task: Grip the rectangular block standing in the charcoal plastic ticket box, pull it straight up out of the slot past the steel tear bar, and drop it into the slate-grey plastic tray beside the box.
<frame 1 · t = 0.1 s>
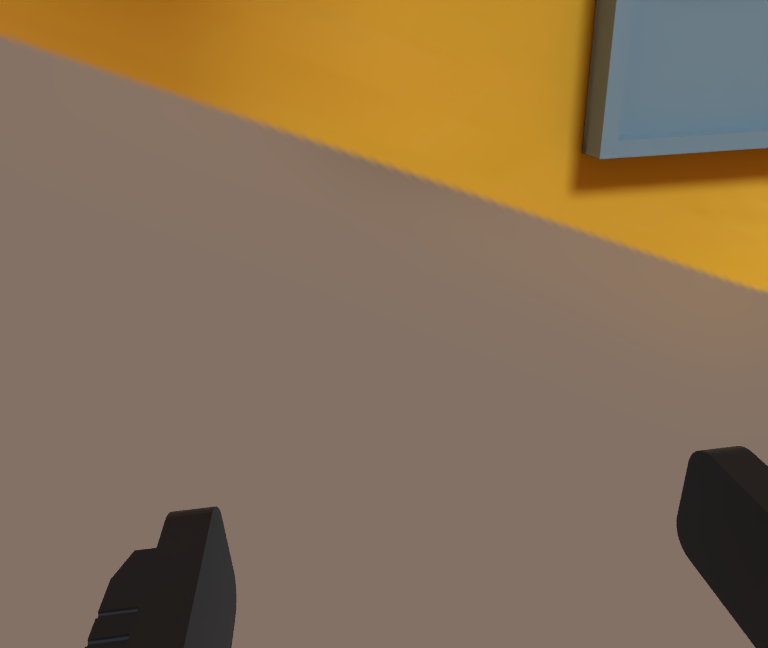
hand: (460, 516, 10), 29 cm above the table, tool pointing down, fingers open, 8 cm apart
tray: (721, 32, 35), on the table
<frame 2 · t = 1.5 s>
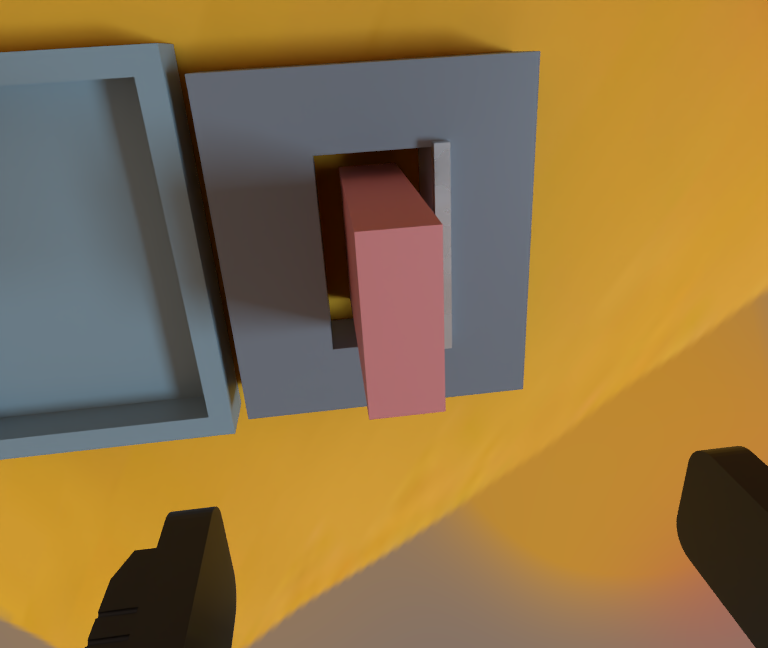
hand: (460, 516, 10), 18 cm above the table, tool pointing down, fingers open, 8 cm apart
ticket box: (371, 233, 26), on the table
tray: (56, 261, 25), on the table
rectangular block: (371, 233, 26), resting in ticket box
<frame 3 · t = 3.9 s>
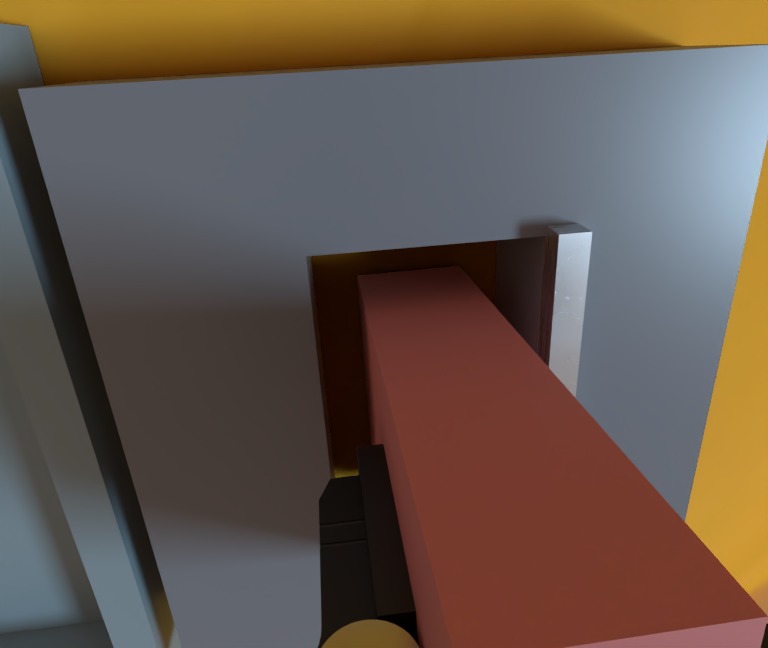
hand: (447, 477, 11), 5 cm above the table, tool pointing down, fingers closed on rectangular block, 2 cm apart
ticket box: (409, 361, 15), on the table
rectangular block: (414, 385, 15), point 1 cm above the table, touching gripper
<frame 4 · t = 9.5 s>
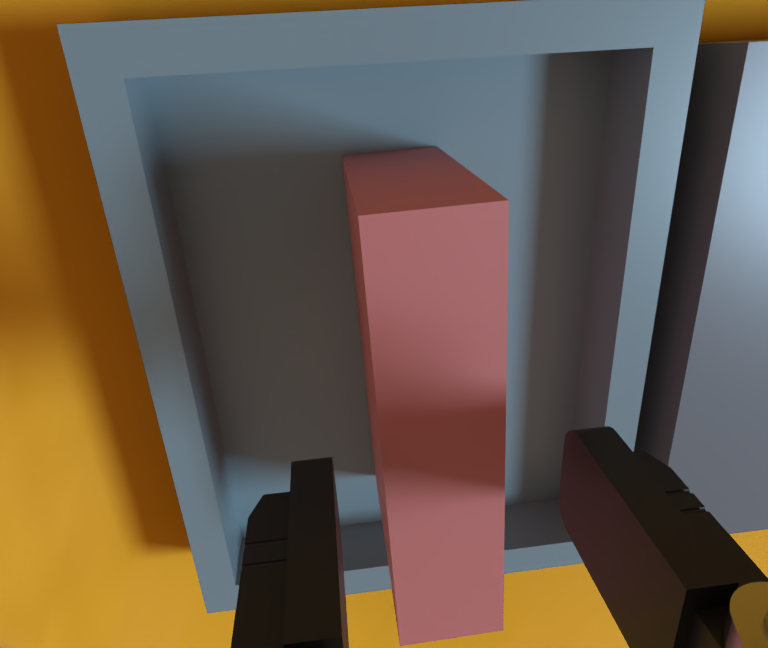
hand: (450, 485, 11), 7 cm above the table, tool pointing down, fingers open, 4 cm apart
tray: (396, 321, 17), on the table
rectangular block: (428, 540, 16), point 4 cm above the table, tilted 90°, touching tray
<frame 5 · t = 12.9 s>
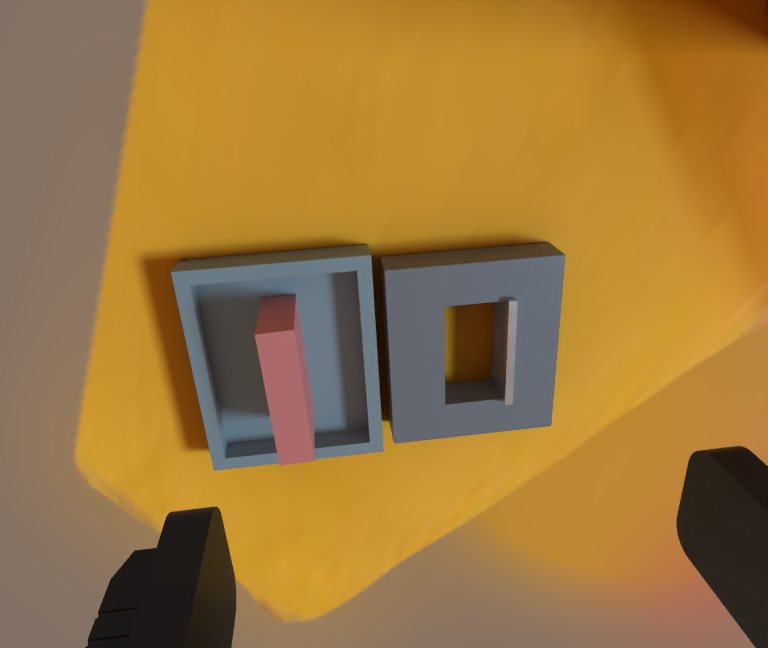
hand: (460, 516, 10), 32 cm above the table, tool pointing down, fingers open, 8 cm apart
ticket box: (464, 336, 45), on the table
tray: (288, 354, 44), on the table
rectangular block: (297, 437, 43), point 4 cm above the table, tilted 90°, touching tray
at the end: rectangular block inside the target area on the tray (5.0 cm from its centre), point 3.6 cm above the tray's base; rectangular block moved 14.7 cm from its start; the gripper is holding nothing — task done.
